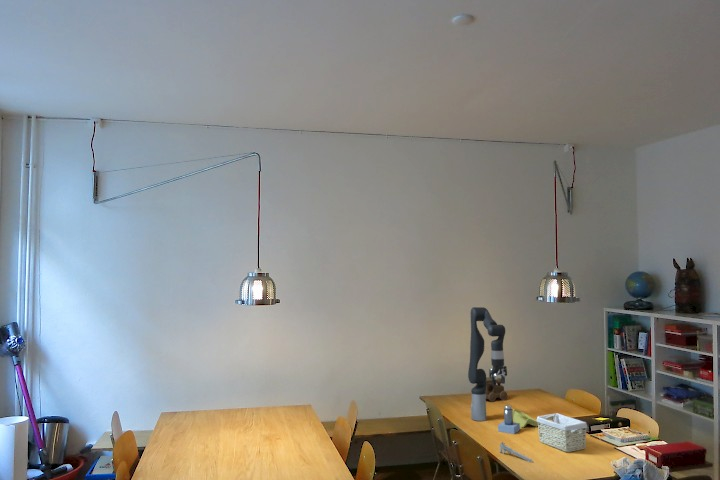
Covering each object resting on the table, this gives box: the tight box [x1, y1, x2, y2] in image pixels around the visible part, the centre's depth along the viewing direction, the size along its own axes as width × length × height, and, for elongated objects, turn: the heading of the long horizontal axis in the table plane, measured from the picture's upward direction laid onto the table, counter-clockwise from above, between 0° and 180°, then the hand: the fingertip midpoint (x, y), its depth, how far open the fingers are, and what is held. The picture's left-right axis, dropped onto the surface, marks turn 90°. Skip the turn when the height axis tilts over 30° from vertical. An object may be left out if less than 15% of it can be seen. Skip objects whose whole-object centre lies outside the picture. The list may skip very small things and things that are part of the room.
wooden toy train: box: [485, 376, 508, 403], centre depth 410 cm, size 20×11×17 cm, turn 112°
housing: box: [503, 404, 514, 425], centre depth 331 cm, size 5×5×11 cm
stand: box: [497, 421, 521, 435], centre depth 331 cm, size 10×10×4 cm
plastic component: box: [513, 408, 538, 429], centre depth 345 cm, size 20×7×10 cm
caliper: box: [499, 441, 534, 463], centre depth 284 cm, size 20×1×6 cm, turn 39°
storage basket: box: [536, 412, 588, 453], centre depth 301 cm, size 24×16×15 cm
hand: (498, 384), depth 324 cm, fingers open, 8 cm apart
